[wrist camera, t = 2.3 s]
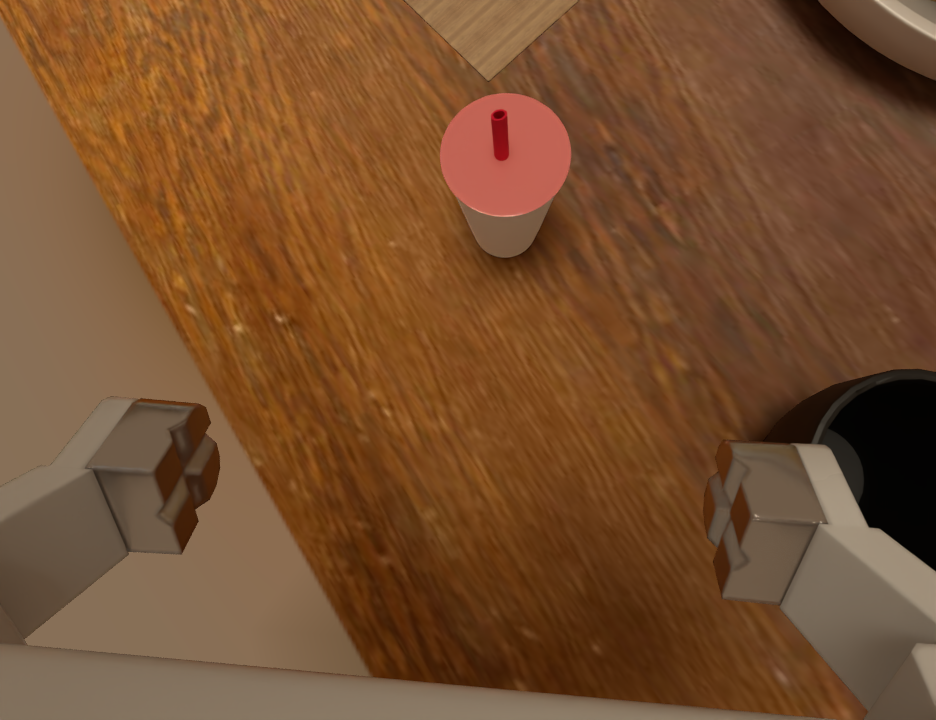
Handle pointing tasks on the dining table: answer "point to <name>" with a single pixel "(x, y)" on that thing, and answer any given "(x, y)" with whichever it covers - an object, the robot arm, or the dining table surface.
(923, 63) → the bowl
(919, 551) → the mug
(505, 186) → the cup
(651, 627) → the dining table surface
